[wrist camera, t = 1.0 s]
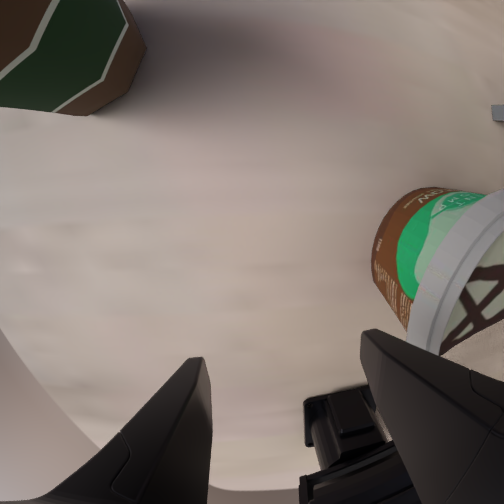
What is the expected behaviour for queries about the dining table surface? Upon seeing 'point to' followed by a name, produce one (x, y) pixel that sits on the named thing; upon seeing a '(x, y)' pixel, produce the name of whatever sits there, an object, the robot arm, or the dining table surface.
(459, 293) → the food container
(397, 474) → the robot arm
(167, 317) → the dining table surface
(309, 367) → the dining table surface
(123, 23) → the beer bottle
